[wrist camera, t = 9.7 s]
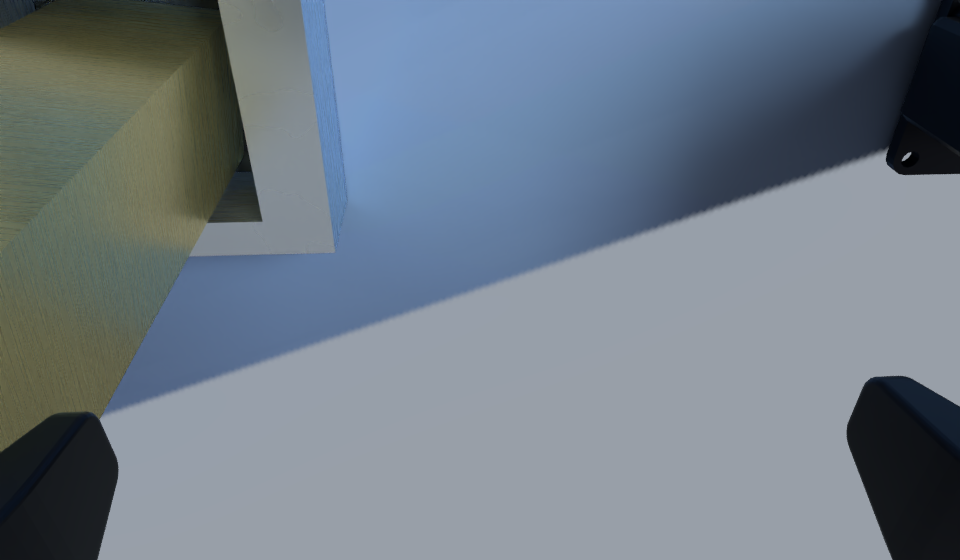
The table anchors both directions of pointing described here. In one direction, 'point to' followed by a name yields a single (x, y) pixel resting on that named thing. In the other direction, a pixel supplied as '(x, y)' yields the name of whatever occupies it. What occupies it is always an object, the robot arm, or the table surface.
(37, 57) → the brass peg
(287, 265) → the table surface
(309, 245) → the metal frame
